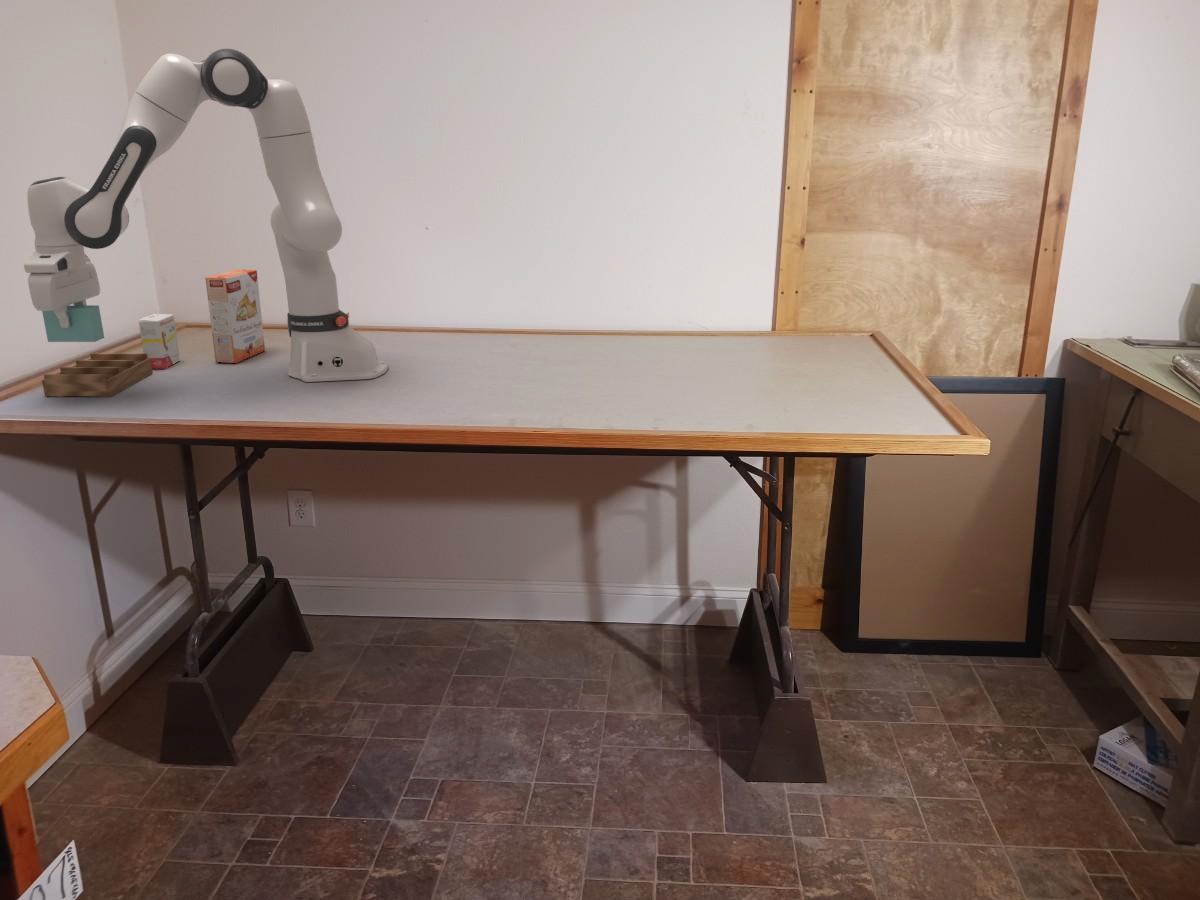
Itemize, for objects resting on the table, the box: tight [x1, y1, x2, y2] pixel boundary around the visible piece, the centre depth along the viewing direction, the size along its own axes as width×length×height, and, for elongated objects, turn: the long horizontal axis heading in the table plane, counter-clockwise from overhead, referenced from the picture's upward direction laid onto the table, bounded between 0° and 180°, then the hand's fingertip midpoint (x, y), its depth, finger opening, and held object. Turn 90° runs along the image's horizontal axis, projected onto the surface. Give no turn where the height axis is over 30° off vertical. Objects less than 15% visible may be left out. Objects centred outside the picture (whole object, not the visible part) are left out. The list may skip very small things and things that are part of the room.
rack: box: [41, 352, 154, 398], centre depth 216 cm, size 14×20×5 cm
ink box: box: [138, 313, 181, 370], centre depth 232 cm, size 9×5×12 cm, turn 177°
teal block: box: [41, 304, 105, 343], centre depth 206 cm, size 4×10×7 cm, turn 89°
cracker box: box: [204, 268, 266, 364], centre depth 238 cm, size 14×6×21 cm, turn 168°
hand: (73, 324), depth 206 cm, fingers closed on teal block, 4 cm apart
